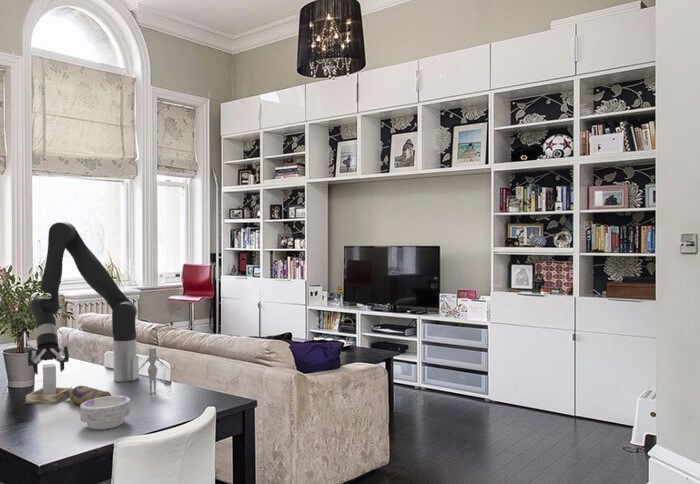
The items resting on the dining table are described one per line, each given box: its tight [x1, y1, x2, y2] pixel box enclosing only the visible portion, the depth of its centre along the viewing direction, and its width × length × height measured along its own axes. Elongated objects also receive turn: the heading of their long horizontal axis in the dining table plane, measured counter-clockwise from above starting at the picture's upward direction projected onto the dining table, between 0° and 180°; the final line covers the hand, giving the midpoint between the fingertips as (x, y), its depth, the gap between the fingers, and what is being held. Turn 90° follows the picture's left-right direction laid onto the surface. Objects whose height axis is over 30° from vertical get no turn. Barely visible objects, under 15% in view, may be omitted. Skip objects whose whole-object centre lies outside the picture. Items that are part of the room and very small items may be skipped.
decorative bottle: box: [65, 385, 113, 406], centre depth 216 cm, size 26×8×7 cm, turn 52°
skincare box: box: [42, 363, 57, 395], centre depth 223 cm, size 6×4×12 cm
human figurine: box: [137, 347, 169, 395], centre depth 229 cm, size 12×4×18 cm, turn 117°
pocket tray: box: [25, 386, 73, 405], centre depth 223 cm, size 12×12×3 cm
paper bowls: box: [79, 395, 131, 431], centre depth 191 cm, size 15×15×8 cm
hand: (49, 371), depth 226 cm, fingers open, 8 cm apart
